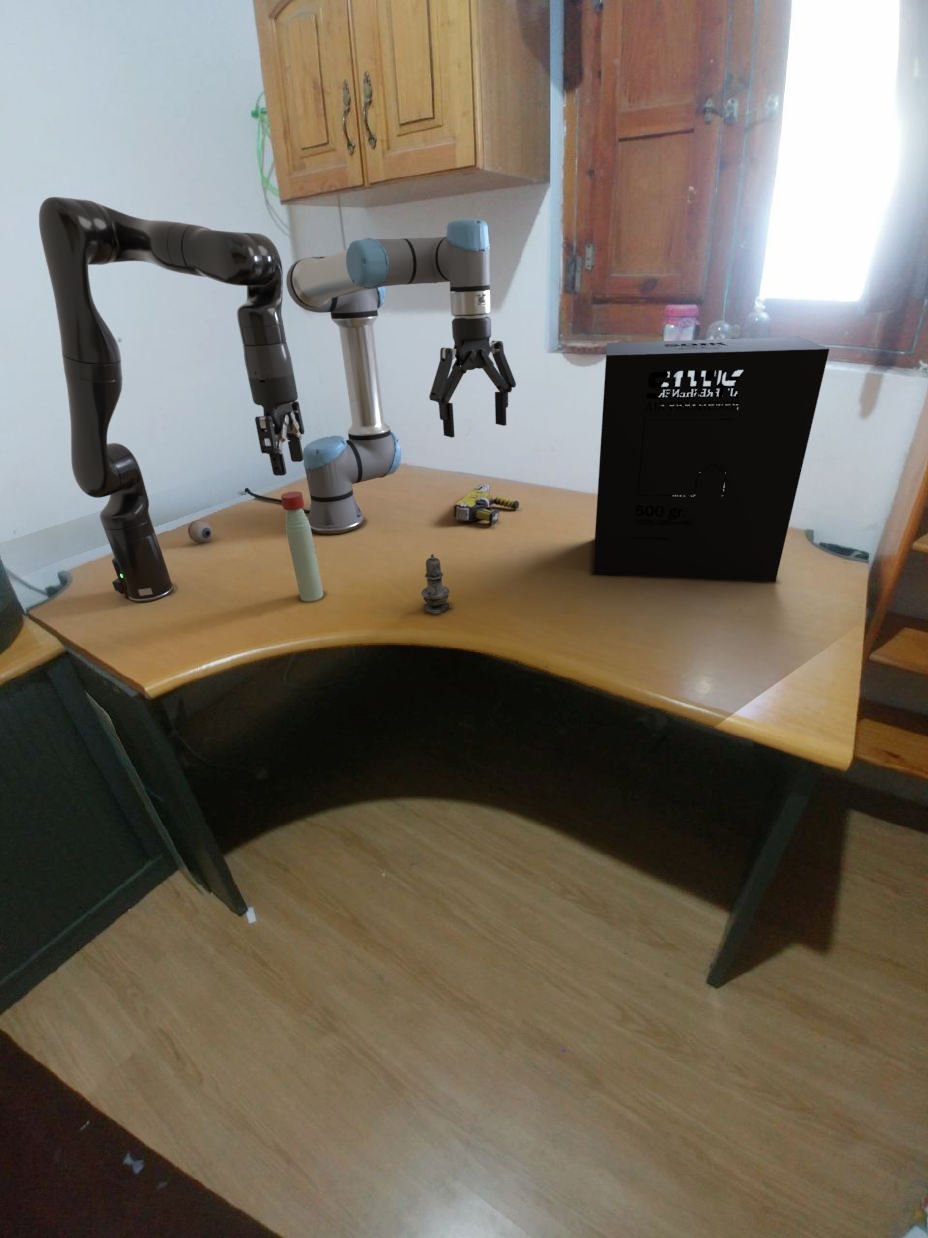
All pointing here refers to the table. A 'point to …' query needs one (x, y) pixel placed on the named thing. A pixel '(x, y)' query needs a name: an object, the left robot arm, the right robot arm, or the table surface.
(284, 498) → the cap
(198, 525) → the eyeball
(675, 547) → the cardboard box
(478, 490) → the toy gun
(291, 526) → the bottle
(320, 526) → the right robot arm
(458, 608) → the table surface
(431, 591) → the grey tiered upright piece
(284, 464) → the left robot arm
